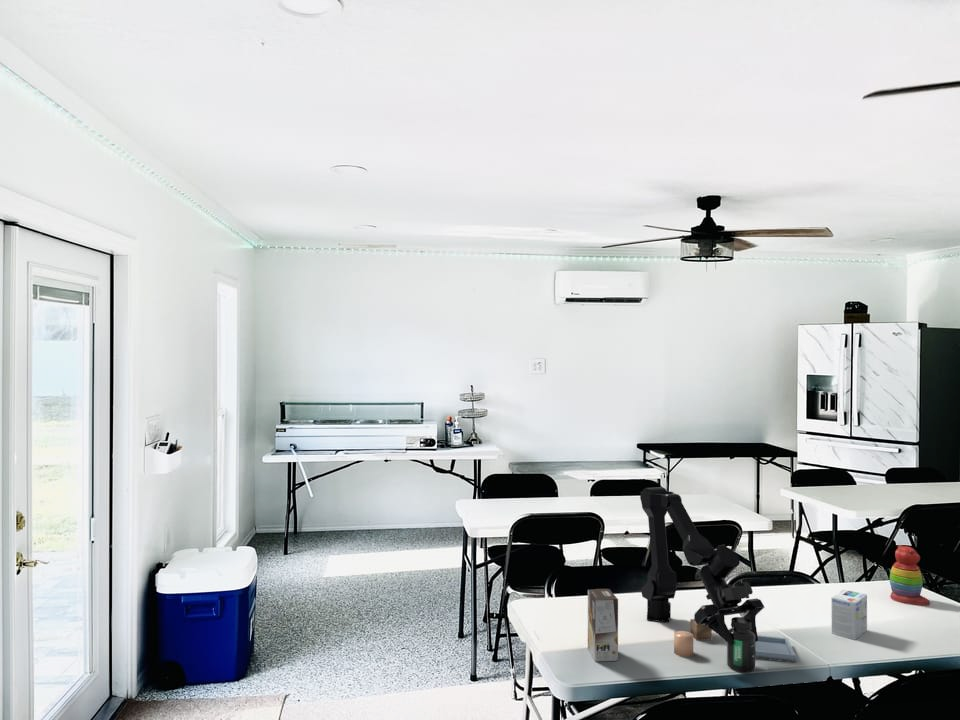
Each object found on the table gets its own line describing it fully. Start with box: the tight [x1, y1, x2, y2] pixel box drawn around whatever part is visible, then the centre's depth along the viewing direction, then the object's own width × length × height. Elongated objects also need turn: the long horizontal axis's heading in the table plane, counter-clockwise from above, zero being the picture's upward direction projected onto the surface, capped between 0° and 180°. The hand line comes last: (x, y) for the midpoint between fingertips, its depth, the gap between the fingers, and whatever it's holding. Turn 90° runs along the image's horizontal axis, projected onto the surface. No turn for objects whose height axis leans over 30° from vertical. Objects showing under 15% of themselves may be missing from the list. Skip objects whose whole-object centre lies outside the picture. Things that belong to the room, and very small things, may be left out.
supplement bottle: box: [726, 616, 757, 673], centre depth 176 cm, size 7×7×12 cm
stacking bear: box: [889, 544, 931, 606], centre depth 229 cm, size 11×10×18 cm
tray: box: [756, 634, 796, 663], centre depth 187 cm, size 12×12×2 cm
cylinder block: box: [673, 630, 694, 658], centre depth 185 cm, size 5×5×5 cm
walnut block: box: [689, 618, 713, 641], centre depth 196 cm, size 4×4×4 cm
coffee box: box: [587, 588, 619, 662], centre depth 183 cm, size 9×6×16 cm
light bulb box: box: [831, 589, 868, 641], centre depth 200 cm, size 11×7×11 cm, turn 134°
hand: (745, 643), depth 175 cm, fingers open, 7 cm apart
